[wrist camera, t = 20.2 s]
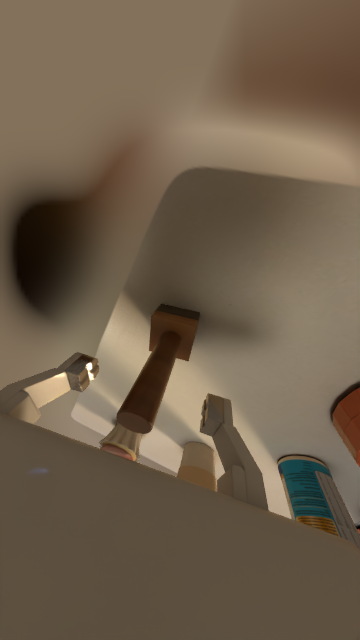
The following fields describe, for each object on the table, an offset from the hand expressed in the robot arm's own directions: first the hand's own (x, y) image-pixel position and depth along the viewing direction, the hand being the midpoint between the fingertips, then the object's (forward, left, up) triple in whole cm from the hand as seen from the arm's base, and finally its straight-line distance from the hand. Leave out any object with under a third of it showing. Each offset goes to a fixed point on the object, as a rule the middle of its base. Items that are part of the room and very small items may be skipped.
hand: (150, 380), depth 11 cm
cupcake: (+33, -6, -10) cm, 36 cm away
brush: (+1, 0, -10) cm, 10 cm away
